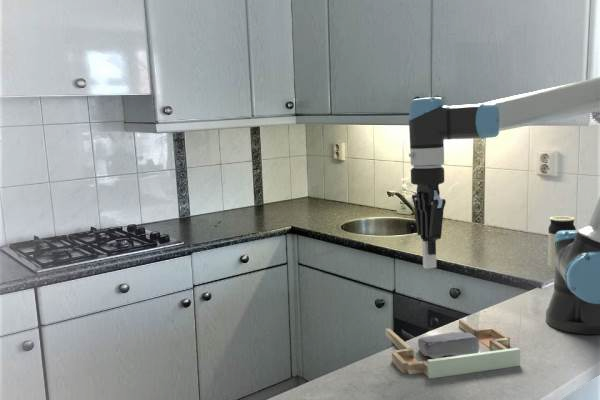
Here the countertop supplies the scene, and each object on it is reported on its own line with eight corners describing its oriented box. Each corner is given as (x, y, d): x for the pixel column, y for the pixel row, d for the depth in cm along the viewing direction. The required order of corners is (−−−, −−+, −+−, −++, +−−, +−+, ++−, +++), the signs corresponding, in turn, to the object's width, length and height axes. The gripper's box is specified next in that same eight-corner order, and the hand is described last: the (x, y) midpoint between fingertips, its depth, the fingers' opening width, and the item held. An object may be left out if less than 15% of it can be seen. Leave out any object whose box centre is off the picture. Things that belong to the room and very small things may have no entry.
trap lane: (477, 325, 144) (477, 311, 143) (537, 363, 120) (537, 347, 120) (369, 338, 138) (369, 324, 137) (411, 381, 114) (410, 364, 114)
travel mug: (572, 276, 184) (574, 220, 181) (545, 274, 188) (546, 219, 186) (576, 270, 190) (577, 216, 188) (550, 268, 195) (551, 215, 192)
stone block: (464, 323, 132) (482, 338, 122) (464, 343, 133) (482, 360, 123) (413, 326, 131) (426, 342, 121) (413, 347, 132) (426, 364, 122)
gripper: (400, 166, 139) (403, 262, 142) (424, 169, 126) (426, 275, 129) (429, 164, 140) (432, 259, 143) (456, 167, 128) (457, 272, 131)
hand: (429, 267), depth 136 cm, fingers closed
